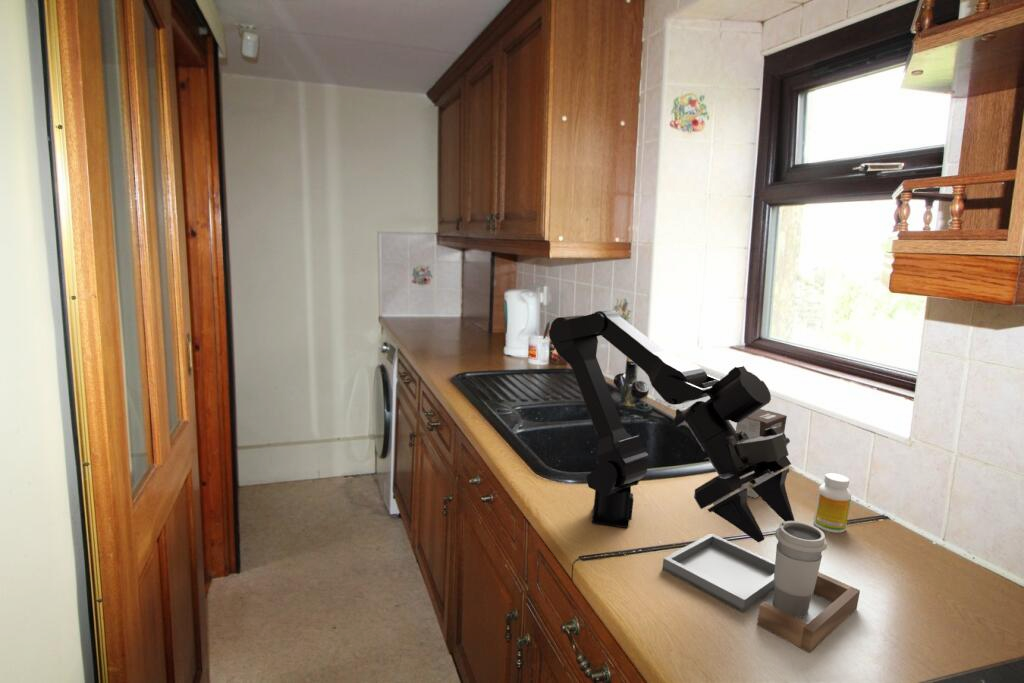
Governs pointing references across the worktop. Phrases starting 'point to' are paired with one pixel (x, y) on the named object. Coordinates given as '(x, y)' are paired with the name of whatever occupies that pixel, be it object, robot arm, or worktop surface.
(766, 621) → the cubby
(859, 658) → the worktop surface
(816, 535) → the cup
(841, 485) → the supplement bottle
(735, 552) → the tray
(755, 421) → the coffee box
